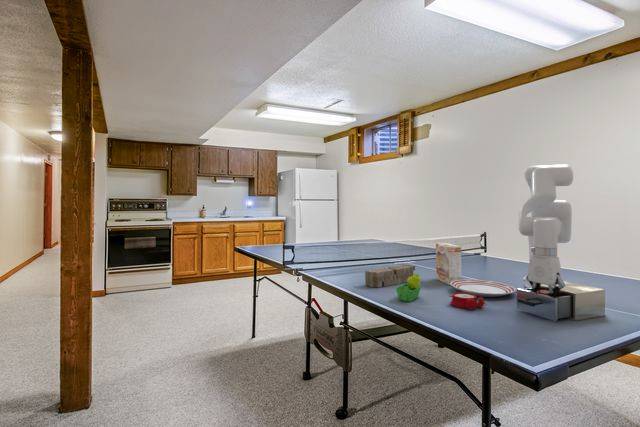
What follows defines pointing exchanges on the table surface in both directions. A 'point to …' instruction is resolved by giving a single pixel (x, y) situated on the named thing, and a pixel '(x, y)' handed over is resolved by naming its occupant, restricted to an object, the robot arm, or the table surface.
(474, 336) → the table surface
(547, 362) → the table surface
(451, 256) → the coffeecake box
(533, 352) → the table surface
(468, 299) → the alarm clock
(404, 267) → the block tower
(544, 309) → the handled box
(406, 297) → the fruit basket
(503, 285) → the dinner plate
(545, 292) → the orange glossy cylinder
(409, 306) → the table surface
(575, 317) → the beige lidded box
